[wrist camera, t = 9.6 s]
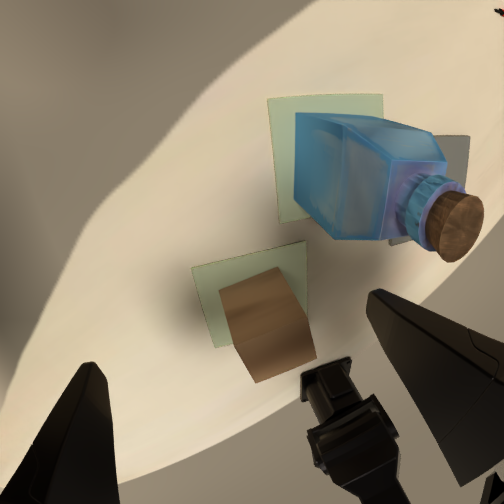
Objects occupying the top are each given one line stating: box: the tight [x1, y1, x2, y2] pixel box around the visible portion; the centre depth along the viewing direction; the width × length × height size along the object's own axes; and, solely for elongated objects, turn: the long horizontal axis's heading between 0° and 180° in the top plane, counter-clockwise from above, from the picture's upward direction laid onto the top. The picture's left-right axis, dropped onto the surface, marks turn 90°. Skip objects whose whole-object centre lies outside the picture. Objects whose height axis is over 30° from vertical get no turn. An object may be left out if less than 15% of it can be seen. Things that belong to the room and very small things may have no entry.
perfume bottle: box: [294, 112, 484, 263], centre depth 15 cm, size 6×6×12 cm
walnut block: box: [218, 266, 317, 383], centre depth 23 cm, size 5×5×6 cm
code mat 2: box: [267, 94, 384, 224], centre depth 21 cm, size 9×9×1 cm
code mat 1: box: [191, 241, 307, 348], centre depth 25 cm, size 9×9×1 cm
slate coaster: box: [389, 135, 470, 246], centre depth 24 cm, size 10×10×1 cm
